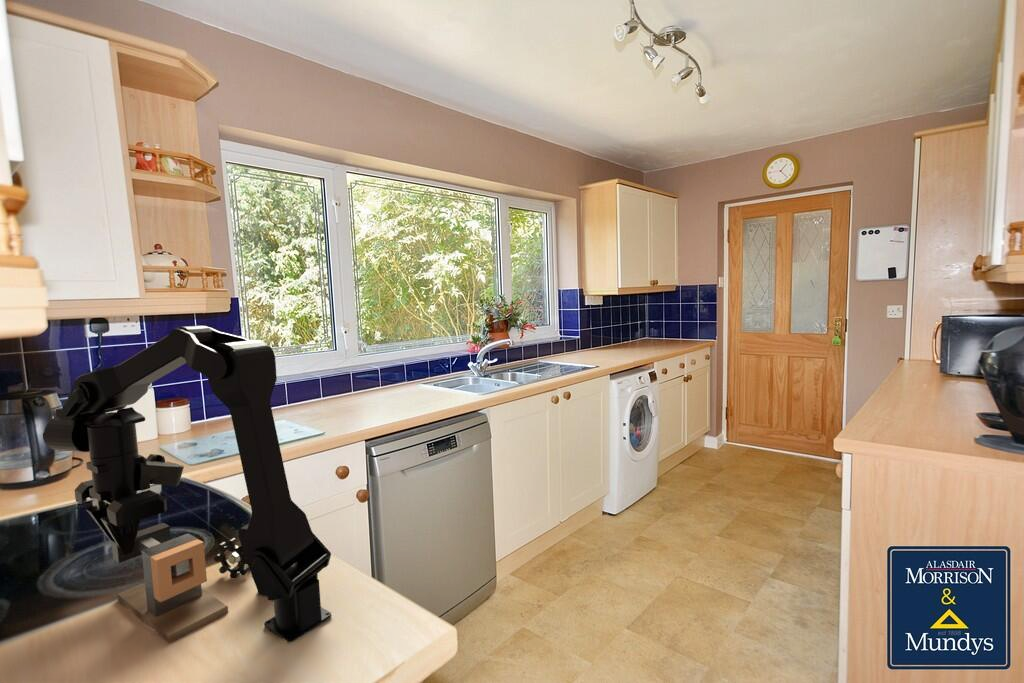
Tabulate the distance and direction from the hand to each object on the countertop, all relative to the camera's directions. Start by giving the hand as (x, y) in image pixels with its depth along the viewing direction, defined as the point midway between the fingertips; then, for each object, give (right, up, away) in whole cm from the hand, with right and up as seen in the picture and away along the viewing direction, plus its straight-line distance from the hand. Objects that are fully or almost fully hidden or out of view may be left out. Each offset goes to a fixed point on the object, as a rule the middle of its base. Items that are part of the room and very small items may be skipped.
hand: (124, 551), depth 76 cm
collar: (+12, -3, -5) cm, 14 cm away
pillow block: (+10, -7, -4) cm, 13 cm away
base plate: (+9, -7, -3) cm, 12 cm away
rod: (+7, -1, -2) cm, 7 cm away
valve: (+15, -6, +10) cm, 19 cm away
